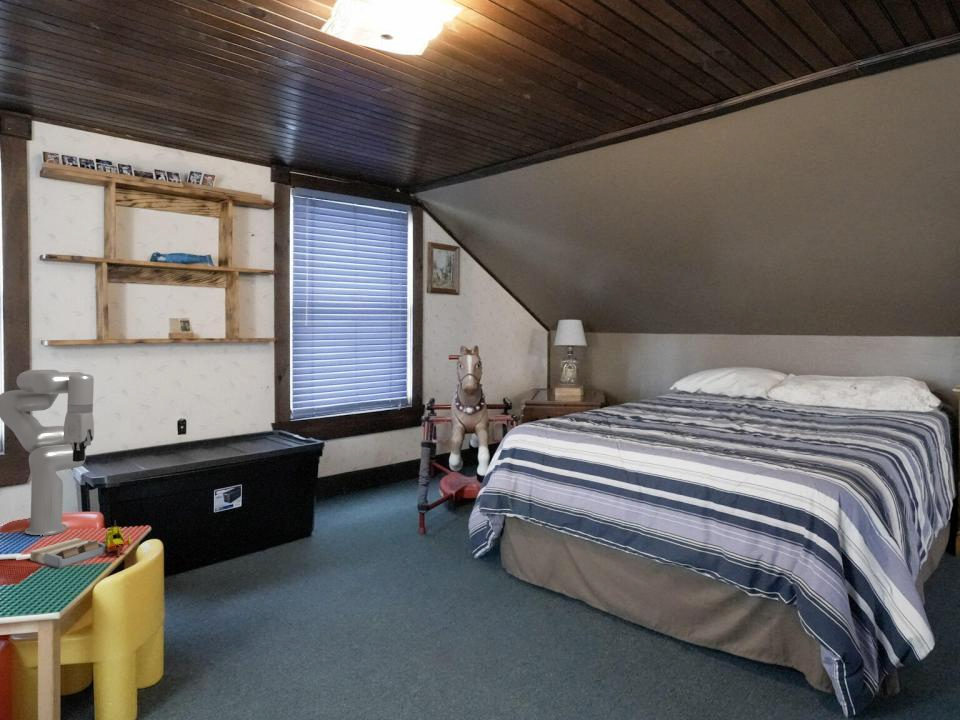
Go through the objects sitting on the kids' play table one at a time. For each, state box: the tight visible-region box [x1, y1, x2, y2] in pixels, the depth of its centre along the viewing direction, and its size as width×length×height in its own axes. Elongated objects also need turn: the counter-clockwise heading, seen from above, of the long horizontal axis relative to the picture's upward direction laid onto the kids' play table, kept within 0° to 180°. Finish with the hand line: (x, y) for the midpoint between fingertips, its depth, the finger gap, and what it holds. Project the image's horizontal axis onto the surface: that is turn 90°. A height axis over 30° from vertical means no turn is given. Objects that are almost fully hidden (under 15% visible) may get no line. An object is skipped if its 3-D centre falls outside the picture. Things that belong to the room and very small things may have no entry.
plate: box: [30, 537, 89, 565], centre depth 202 cm, size 7×15×3 cm, turn 157°
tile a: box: [77, 540, 99, 554], centre depth 203 cm, size 4×4×2 cm
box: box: [43, 539, 106, 570], centre depth 200 cm, size 8×15×4 cm, turn 157°
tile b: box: [56, 546, 79, 559], centre depth 196 cm, size 4×4×2 cm
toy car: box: [104, 520, 131, 556], centre depth 210 cm, size 6×18×10 cm, turn 40°
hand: (78, 460), depth 214 cm, fingers closed
